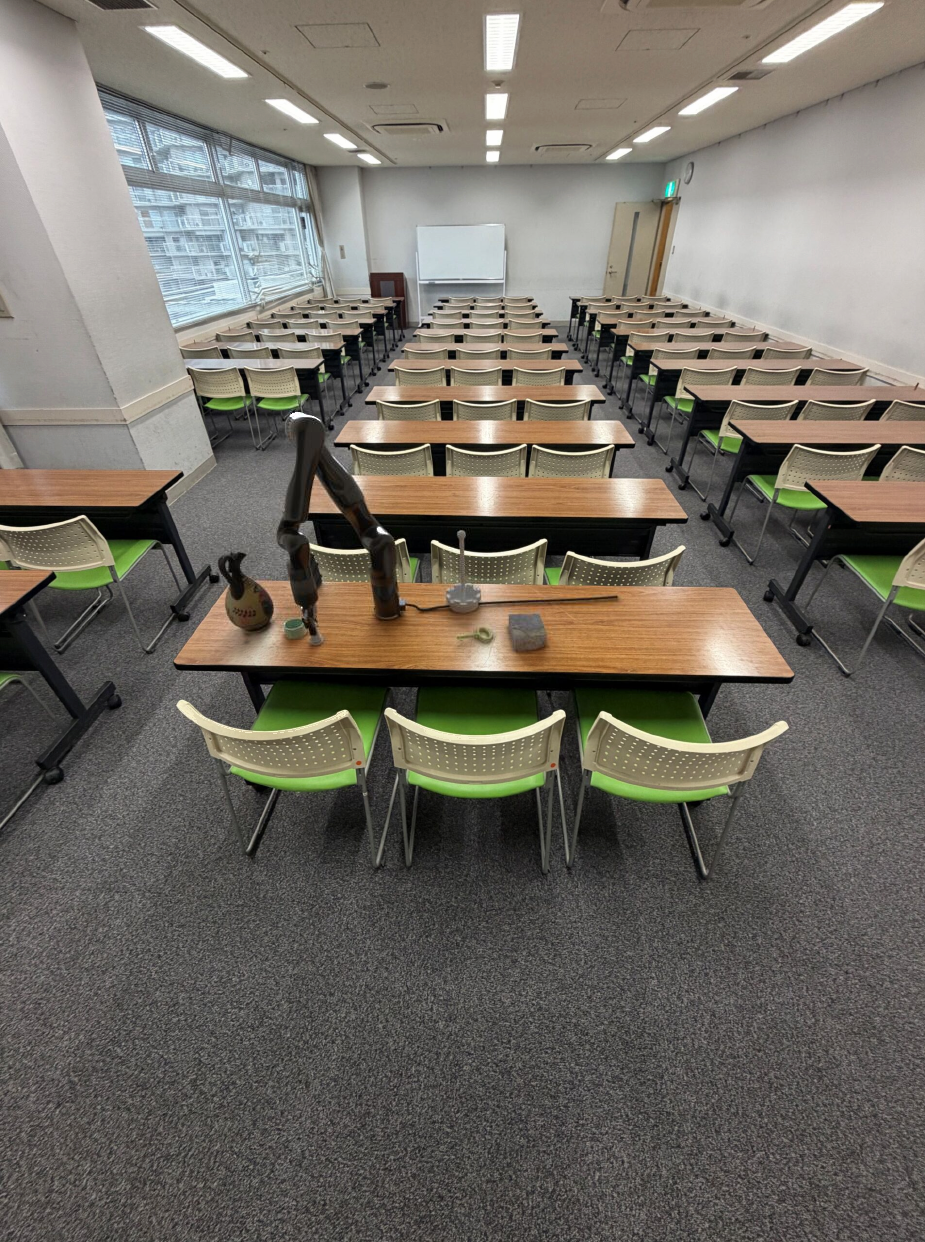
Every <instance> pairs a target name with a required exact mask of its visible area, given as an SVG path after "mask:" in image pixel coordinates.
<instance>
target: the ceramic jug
mask: <svg viewBox="0 0 925 1242" xmlns="http://www.w3.org/2000/svg"><path fill="white" fill-rule="evenodd" d="M246 557H247V554H246V553H245V552H242V551H237V552H236V553H235V552H232V551H230V552H229V554H227V553H226V554H223V555H221V556H219V557H218V559H217V567H218V570H219V572H220V574H221V575H222V577H223V578H224V579H225V580H226V582H227V583H228V584H229V585H228V587H227V591H226V594H225V599H224V608H225V612H226V613H225V614H226V616H227V617H228V619H229V621H230V622H231V624H233V625H234V626H235V627H237V628H239V629H242V630H243V631H244V632H245V633H247V634H248V635H251V634H257V633H258V634H259V633H261V632H263V631H266V630H267V629H268V628H269V627H270V626H271V625H272V622H271V621H272V617H273V615H274V612H275V610H274V608H275V605H274V601H273V599H272V597H271V595H270V593H269V592H268V591H267V590H266V589H265V588H264V587H263V586H262V585H261V584H260V583H258V582H257V581H256V580H254V579H253V578H251V577H249V576H248V575H246V574H245V573H244V571H242V569H241V564H242V562H243V560H244V559H245V558H246ZM227 562H228V564H227ZM226 565H227V567H226Z"/></svg>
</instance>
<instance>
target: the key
mask: <svg viewBox="0 0 925 1242" xmlns="http://www.w3.org/2000/svg"><path fill="white" fill-rule="evenodd" d="M481 631H484V632H485V633H487V634H488V636H489V637H484V636H483V635H481V633H480V632H481ZM473 638H475V639H477V638H478V639H479V640H480V641H482V642H485V643H487V642H491V641H492V639H493V634H492V631H491V630H490V629H488V628H487V627H484V626H480V627H478V628H477V630H476V632H474V633H470V634H469V633H468V634H462V635H461V634H460V635H456V639H457V640H458V641H459V642H464V639H473Z"/></svg>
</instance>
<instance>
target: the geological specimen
mask: <svg viewBox="0 0 925 1242" xmlns="http://www.w3.org/2000/svg"><path fill="white" fill-rule="evenodd" d="M508 630H509V635H510V637H511V641H512V645H513V648H514V651H515V652H524V651H525V652H526V651H527V652H529V651H535V650H537V649H540V648H543V647H546V640H547V631H546V628H545V626H544V622H543V620H542V617H541V614H540V613H508Z"/></svg>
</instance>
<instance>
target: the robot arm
mask: <svg viewBox="0 0 925 1242" xmlns="http://www.w3.org/2000/svg"><path fill="white" fill-rule="evenodd" d="M284 433H285V435H286V438H287V439H288V441H289V442H290V443H291V444H292V446H293V447H295V463H294V468H293V472H292V474H291V477H290V479H289V481H288V484H287V487H286V490H285V496H284V504H283V512H282V515H281V518H280V521H279V522H278V523H279V524H278V526H277V529H276V533H275V538H276V539H275V540H276V543H277V545H278V547H279V548H281V549H282V550H284V551H285V552H287V554H288V557H289V558H288V559H287V561H286V570H287V574H288V577H289V578H288V579H289V585H290V589H291V592H292V593H291V594H292V597H293V600H294V603H295V604H296V605H297V606H299V607H301V608H300V611H301V614H302V617H301V619H302V622H303V624H304V626H305V628H306V630H308V633H309V636H316V635H317V632H316V628H315V622H314V621H316V623H317V624H318V626H317V627H318V628H319V623H318V619H317V618H318V607H317V602H318V600H319V592H318V589H317V588H316V584H315V580H314V577H313V574H312V570H311V566H310V553H311V545H310V541H309V539H308V537H307V536H306V535H305V534H304V533H302V532H301V531H300V527H301V524H305V523H306V522H307V521H308V519H309V514H310V507H311V500H312V493H313V486H314V482H315V477H316V478H317V479H318V481H319V482H320V485H321V486H322V488H323V489H324V490H325V492H326V493H327V495H328V497H329V498H330V499H331V501H332V502H333V504H334V505H335V507H336V508H337V509H338V510H339V511H340V513H341V514H342V515H343V516H344V517H345V518H346V519H347V520H348V521H349V523H350V524H351V525H352V527H353V529H354V531H355V532H356V534H357V536H358V538H359V540H360V542H361V544H362V546H363V547H364V549H365V550H366V551H367V552H368V553H369V558H370V564H369V566H368V573H369V580H370V586H371V593H372V600H373V605H374V607H373V611H374V614H375V617H376V618H377V619H378V620H381V621H391V620H394V619H397V618H399V617H400V618H401V617H402V612H406V610H407V607H410V608H415V610H417V611H419V612H429V611H434V610H438V609H447V608H450V605H449V604H443V605H436V606H432V607H426V608H421V607H419V606H418V605H416V604H413V603H407V601H406V598H405V597H403V598H401V596H400V588H399V583H398V575H397V565H398V558H397V557H398V555H397V545H396V541H395V538H394V537H393V536H392V535H391V534H390V532H388V531H387V530H386V529H385V528H384V527H383V526H382V525H381V524H380V523H379V522H378V520H377V519H376V518H375V516H374V515H373V514H372V512H371V511H370V509H369V506H368V503H367V500H366V497H365V495H364V493H363V491H362V489H361V487H360V486H359V485H358V483H357V482H356V480H355V478H354V476H352V473H350V471H349V470H347V468H346V467H345V466H344V465H343V464H342V463H341V461H339V459H337V458H336V457H335V456H334V454H333V453H332V452H331V451H330V449H329V447H327V445H326V443H325V442H326V437H327V431H326V427H325V425H324V423H323V422H322V420H320V419H319V418H317V417H316V416H313V415H310V414H307V413H304V412H295V413H292V414H290V415H289V416H288V417H287V419H286V420H285V423H284ZM618 598H619V596H618V595H608V596H605V595H604V596H595V597H594V596H591V597H575V598H573V597H572V598H549V599H547V598H545V599H517V600H497V601H479V603H478V606H484V605H502V604H526V603H527V604H528V603H554V602H555V603H556V602H557V603H558V602H579V601H597V600H598V601H599V600H612V599H618Z"/></svg>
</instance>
